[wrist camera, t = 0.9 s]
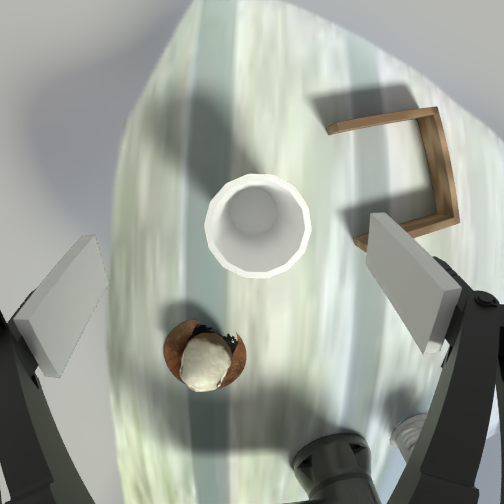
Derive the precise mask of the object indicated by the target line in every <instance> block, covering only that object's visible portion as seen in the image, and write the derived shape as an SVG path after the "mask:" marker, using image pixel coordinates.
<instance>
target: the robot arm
mask: <svg viewBox="0 0 504 504" xmlns="http://www.w3.org/2000/svg"><path fill="white" fill-rule="evenodd" d="M366 266H367V267H368V269H369V270H370V272H371V273H372V275H373V276H374V278H375V279H376V281H377V282H378V284H379V285H380V287H381V288H382V290H383V291H384V293H385V294H386V296H387V297H388V299H389V300H390V302H391V303H392V305H393V307H394V308H395V310H396V311H397V313H398V314H399V316H400V318H401V319H402V321H403V322H404V324H405V326H406V327H407V329H408V330H409V332H410V334H411V335H412V337H413V339H414V340H415V342H416V344H417V345H418V347H419V349H420V350H421V352H422V354H423V355H426V354H430V353H434V352H438V351H440V350H441V348H442V345H443V342H444V340H445V339H446V340H447V342H448V343H449V344H450V346H449V349H448V351H447V354H446V356H445V358H444V361H443V363H442V365H441V367H442V368H443V369H442V372H441V375H440V379H439V382H438V385H437V388H436V391H435V394H434V397H433V400H432V403H431V406H430V409H429V411H428V414H427V417H426V419H425V422H424V425H423V427H422V430H421V432H420V435H419V437H418V440H417V442H416V444H415V447H414V449H413V451H412V454H411V456H410V458H409V460H408V462H407V465H406V467H405V469H404V471H403V473H402V475H401V477H400V479H399V481H398V483H397V485H396V487H395V489H394V491H393V493H392V495H391V497H390V499H389V500H388V502H387V504H477V503H478V498H479V489H477V488H475V487H474V482H475V478H476V475H477V471H478V468H479V464H480V461H481V457H482V453H483V449H484V444H485V440H486V436H487V431H488V426H489V421H490V415H491V410H492V404H493V397H494V390H495V384H496V391H497V399H498V408H499V419H500V433H501V453H502V454H501V457H502V478H501V479H502V481H501V503H500V504H504V304H499V301H498V300H497V299H496V298H495V297H494V296H493V295H491V294H489V293H487V292H484V291H473V290H472V289H471V288H470V287H469V286H468V284H467V283H466V282H465V281H464V280H463V279H462V278H461V277H460V276H459V275H458V276H457V273H456V272H455V271H454V270H452V268H451V267H450V266H449V265H448V264H447V263H446V262H444V261H443V260H441V259H439V258H437V257H432V256H431V255H430V254H429V253H428V252H427V251H426V250H425V249H424V248H422V247H421V246H420V245H419V244H418V243H417V242H416V241H415V240H414V239H413V238H412V237H411V236H410V235H409V234H408V233H407V232H406V231H405V230H404V229H402V228H401V227H400V226H399V225H398V224H397V223H396V222H395V221H394V220H393V219H392V218H390V217H389V216H388V215H387V214H386V213H385V212H384V213H371V214H370V226H369V237H368V246H367V256H366ZM108 284H109V281H108V278H107V275H106V271H105V268H104V265H103V261H102V258H101V254H100V251H99V247H98V243H97V239H96V236H95V235H86V236H82V237H81V238H80V239H79V240H78V241H77V242H76V243H75V244H74V245H73V247H72V248H71V249H70V250H69V251H68V252H67V253H66V254H65V256H64V257H63V258H62V259H61V260H60V261H59V262H58V264H57V265H56V266H55V267H54V268H53V270H52V271H51V272H50V273H49V274H48V275H47V277H46V278H45V279H44V280H43V281H42V283H41V284H40V285H39V286H38V288H36V289H35V290H34V291H32V292H31V293H30V294H29V296H28V297H27V298H26V299H25V302H23V303H22V304H21V306H20V308H18V310H17V311H16V312H15V313H14V315H13V316H12V317H11V319H10V320H9V321H8V323H6V321H5V319H4V317H3V315H2V313H1V311H0V463H1V467H2V470H3V474H4V477H5V480H6V484H7V487H8V490H9V493H10V497H11V500H10V501H8V502H5V504H95V502H94V501H93V499H92V497H91V496H90V494H89V492H88V490H87V488H86V487H85V485H84V483H83V481H82V480H81V477H80V476H79V474H78V472H77V470H76V468H75V466H74V464H73V462H72V460H71V458H70V456H69V454H68V452H67V449H66V447H65V445H64V443H63V441H62V438H61V436H60V434H59V431H58V430H57V427H56V424H55V422H54V419H53V417H52V414H51V412H50V409H49V407H48V404H47V401H46V399H45V396H44V393H43V390H42V387H41V385H40V381H39V379H38V377H37V375H36V374H35V370H36V369H37V367H38V366H39V367H40V369H41V371H42V372H43V374H44V376H46V377H54V378H61V375H62V373H63V371H64V369H65V367H66V365H67V363H68V361H69V359H70V356H71V354H72V352H73V350H74V348H75V346H76V344H77V342H78V340H79V338H80V336H81V334H82V332H83V330H84V328H85V326H86V325H87V323H88V320H89V319H90V317H91V315H92V313H93V311H94V310H95V307H96V306H97V304H98V302H99V300H100V299H101V297H102V295H103V293H104V291H105V290H106V288H107V286H108ZM293 467H294V473H295V476H296V478H297V480H298V481H299V483H300V484H301V486H302V487H303V489H304V490H305V492H306V493H307V494H308V496H309V500H308V501H300V502H293V503H284V504H381V501H380V499H379V496H378V493H377V491H376V488H375V486H374V484H373V481H372V479H371V451H370V448H369V446H368V444H367V442H366V441H365V439H363V438H362V437H360V436H358V435H354V434H335V435H330V436H327V437H323V438H321V439H318V440H316V441H314V442H312V443H310V444H309V445H307V446H306V447H304V448H303V449H302V450H301V451H300V452H299V453H298V454H297V456H296V457H295V459H294V463H293ZM0 504H2V501H1V492H0Z"/></svg>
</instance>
